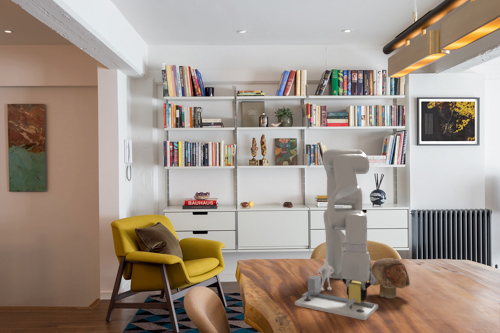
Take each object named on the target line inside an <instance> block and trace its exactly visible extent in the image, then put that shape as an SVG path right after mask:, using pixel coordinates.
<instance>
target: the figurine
mask: <svg viewBox="0 0 500 333" xmlns="http://www.w3.org/2000/svg"><path fill="white" fill-rule="evenodd" d="M330 270H331V271H330ZM317 272H318V274H319V275H320V276H321V292H325V288H324V285H325V282H327V285H328V286H327V287H326V288H327V290H328V291H332V290H333V288H332V286H331V284H330V278H329V276H330V274H332V273H333V272H334V269H333V267H332V266H330V265H328V262H327V261H326V260H325V261H323V264H322V265H321V266H320V267H319V268H318V269H317ZM330 277H331V276H330Z"/></svg>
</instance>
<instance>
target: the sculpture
mask: <svg viewBox="0 0 500 333" xmlns="http://www.w3.org/2000/svg"><path fill="white" fill-rule="evenodd" d="M371 267H372V274H373V276H374V277H375V279H376V281H377V282H376V283H374V284H372V285H371V286H378V285H379V297H381V298H385V299H388V298H393V299H395V298H396V297H397V289H404V288H407V287H410V285H411V284H410V282H411V281H410V277H409V273H408V271H407V268H406V266H405V264H404V263H403V262H402V261H401V260H399V259H397V258H396V259H395V258H392V257H384V258H380V259H377V260H376V261H375V262H373V264H372V265H371ZM370 281H371V279H369V280H368V281H367V282H370Z"/></svg>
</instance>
